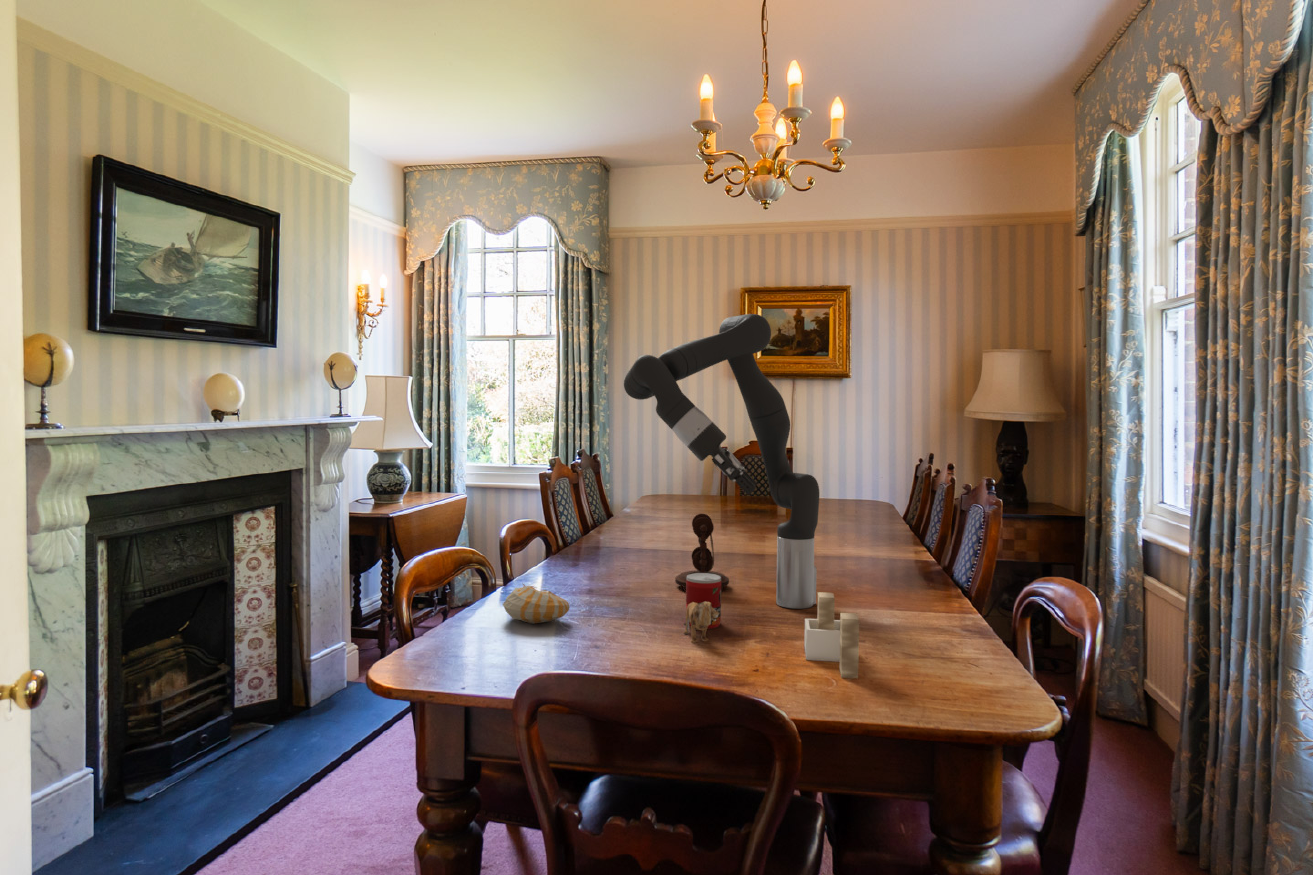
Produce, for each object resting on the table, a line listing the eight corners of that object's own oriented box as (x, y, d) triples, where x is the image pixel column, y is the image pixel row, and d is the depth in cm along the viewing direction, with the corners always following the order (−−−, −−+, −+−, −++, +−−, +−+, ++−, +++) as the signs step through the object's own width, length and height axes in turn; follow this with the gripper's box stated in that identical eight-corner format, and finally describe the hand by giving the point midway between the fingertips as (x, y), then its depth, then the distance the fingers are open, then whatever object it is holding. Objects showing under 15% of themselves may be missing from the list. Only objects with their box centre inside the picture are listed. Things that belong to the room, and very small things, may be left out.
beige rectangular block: (841, 677, 136) (842, 618, 136) (839, 670, 140) (840, 612, 140) (858, 678, 136) (859, 619, 135) (855, 671, 140) (856, 613, 139)
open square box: (806, 659, 146) (806, 629, 145) (804, 646, 154) (804, 618, 153) (847, 662, 145) (847, 631, 144) (843, 649, 152) (843, 620, 152)
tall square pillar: (818, 651, 147) (819, 597, 147) (816, 645, 151) (817, 592, 151) (833, 652, 147) (834, 597, 146) (831, 646, 151) (832, 592, 150)
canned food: (718, 630, 165) (719, 581, 164) (683, 627, 166) (683, 579, 166) (722, 620, 172) (723, 573, 172) (688, 618, 174) (689, 571, 173)
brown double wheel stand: (731, 594, 196) (732, 519, 196) (675, 593, 197) (676, 519, 196) (726, 581, 211) (727, 511, 210) (674, 580, 211) (675, 511, 211)
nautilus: (501, 609, 182) (562, 610, 185) (501, 630, 161) (570, 630, 164) (503, 577, 182) (564, 578, 185) (503, 593, 161) (572, 594, 164)
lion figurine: (721, 646, 154) (721, 603, 153) (697, 648, 152) (697, 605, 152) (694, 626, 168) (695, 586, 167) (672, 628, 166) (673, 588, 166)
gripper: (708, 421, 147) (766, 480, 146) (714, 420, 161) (766, 473, 160) (682, 447, 148) (738, 506, 147) (689, 444, 162) (741, 497, 161)
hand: (753, 489), depth 153 cm, fingers open, 8 cm apart
